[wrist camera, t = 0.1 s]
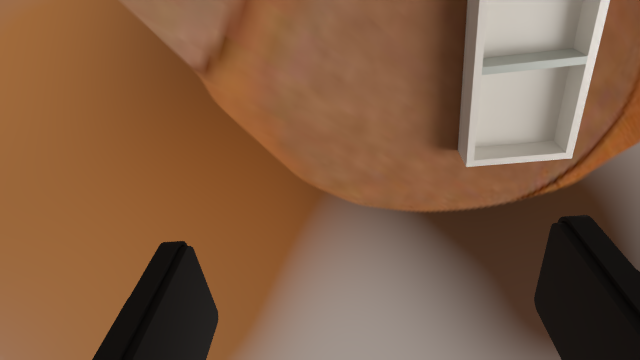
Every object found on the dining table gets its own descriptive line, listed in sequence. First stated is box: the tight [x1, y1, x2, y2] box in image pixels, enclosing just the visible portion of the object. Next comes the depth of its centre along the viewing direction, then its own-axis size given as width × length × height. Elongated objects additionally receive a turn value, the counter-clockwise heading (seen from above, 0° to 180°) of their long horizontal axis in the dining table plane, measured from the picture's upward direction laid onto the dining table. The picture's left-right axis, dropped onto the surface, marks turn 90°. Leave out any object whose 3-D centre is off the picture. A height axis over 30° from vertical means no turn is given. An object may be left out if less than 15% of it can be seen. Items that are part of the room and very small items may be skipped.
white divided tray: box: [458, 0, 610, 167], centre depth 41 cm, size 22×12×4 cm, turn 7°
